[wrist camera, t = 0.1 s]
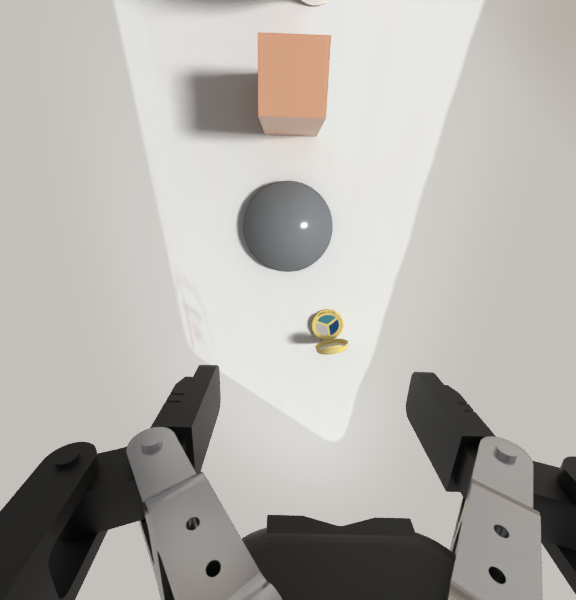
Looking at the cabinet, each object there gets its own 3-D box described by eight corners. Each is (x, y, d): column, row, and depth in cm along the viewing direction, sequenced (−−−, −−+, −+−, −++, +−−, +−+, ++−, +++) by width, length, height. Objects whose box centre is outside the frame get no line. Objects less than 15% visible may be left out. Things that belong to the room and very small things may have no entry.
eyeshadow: (340, 306, 43) (346, 320, 38) (344, 338, 44) (351, 355, 40) (309, 312, 43) (311, 327, 38) (315, 343, 45) (318, 361, 40)
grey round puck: (244, 179, 37) (242, 179, 36) (334, 182, 37) (335, 182, 37) (245, 268, 41) (244, 270, 40) (328, 270, 41) (328, 272, 40)
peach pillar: (265, 72, 34) (258, 32, 25) (319, 74, 34) (331, 35, 25) (264, 134, 36) (258, 116, 27) (316, 136, 36) (325, 118, 27)
